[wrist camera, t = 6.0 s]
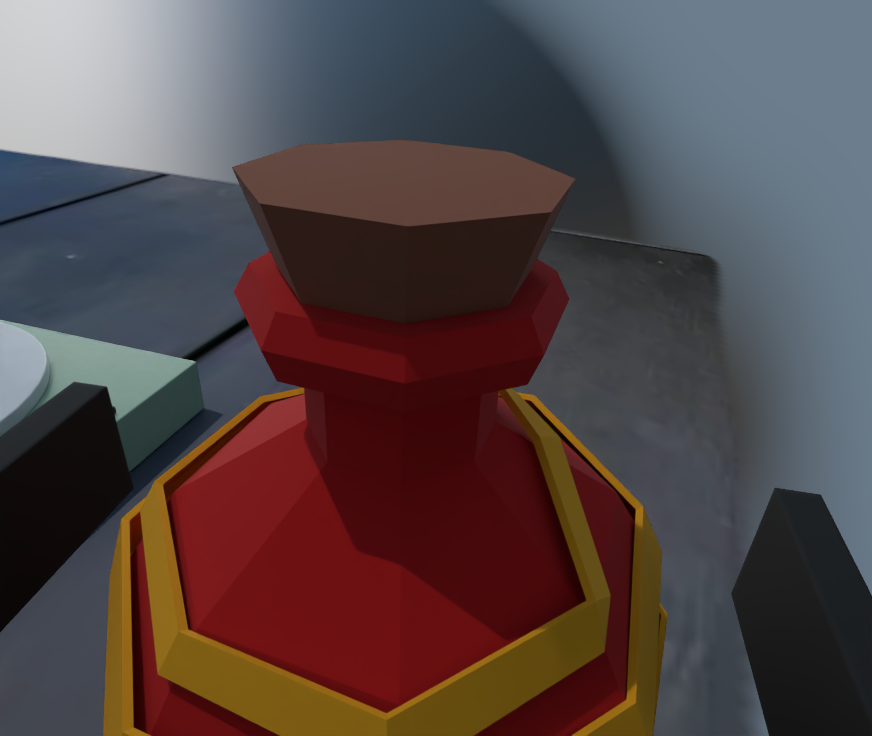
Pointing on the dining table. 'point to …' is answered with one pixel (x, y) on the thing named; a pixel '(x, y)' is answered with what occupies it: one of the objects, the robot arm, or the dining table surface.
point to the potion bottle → (391, 484)
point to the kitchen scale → (98, 383)
